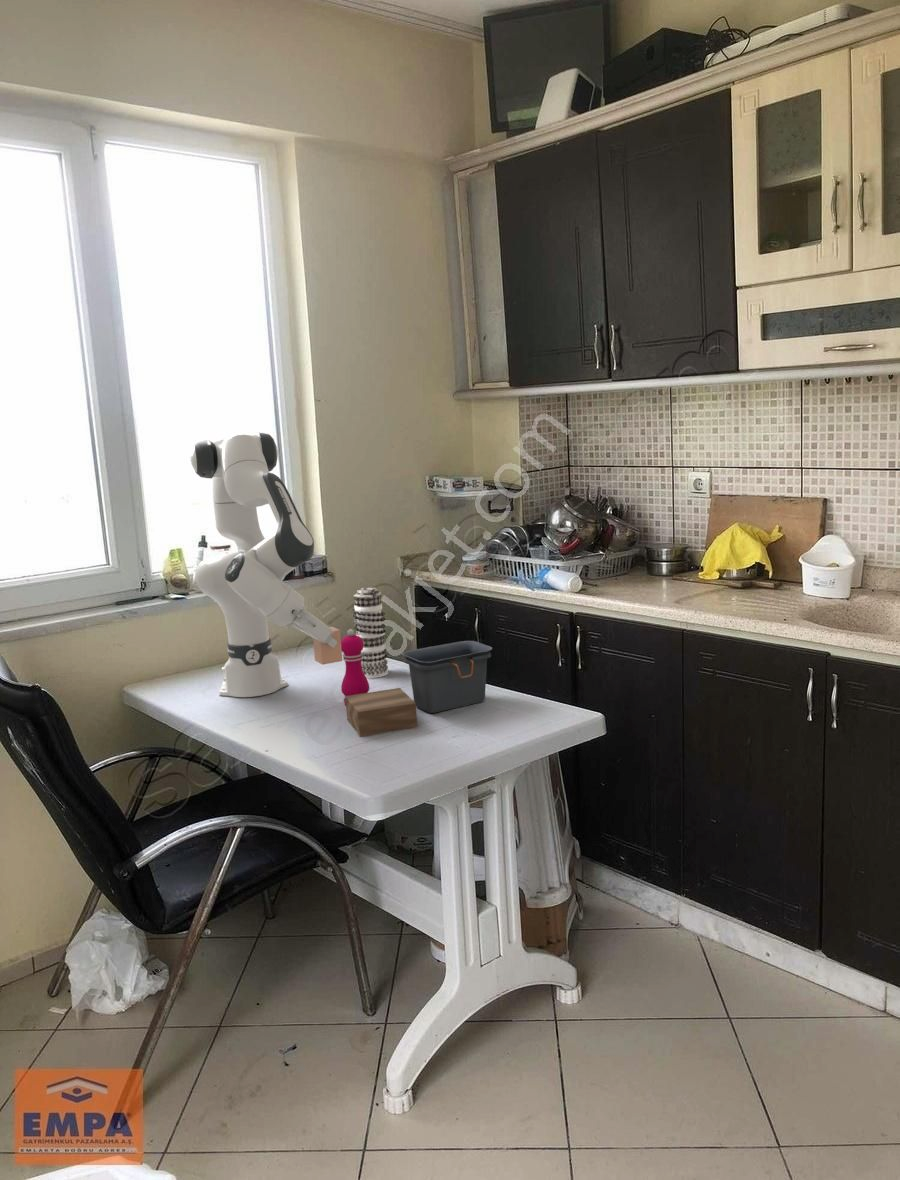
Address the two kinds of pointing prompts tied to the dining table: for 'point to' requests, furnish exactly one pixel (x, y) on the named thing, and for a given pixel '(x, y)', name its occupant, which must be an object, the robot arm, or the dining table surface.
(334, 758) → the dining table surface
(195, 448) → the robot arm
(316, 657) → the terracotta block
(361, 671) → the pepper mill
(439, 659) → the storage bin
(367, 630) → the decorative candle
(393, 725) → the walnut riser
